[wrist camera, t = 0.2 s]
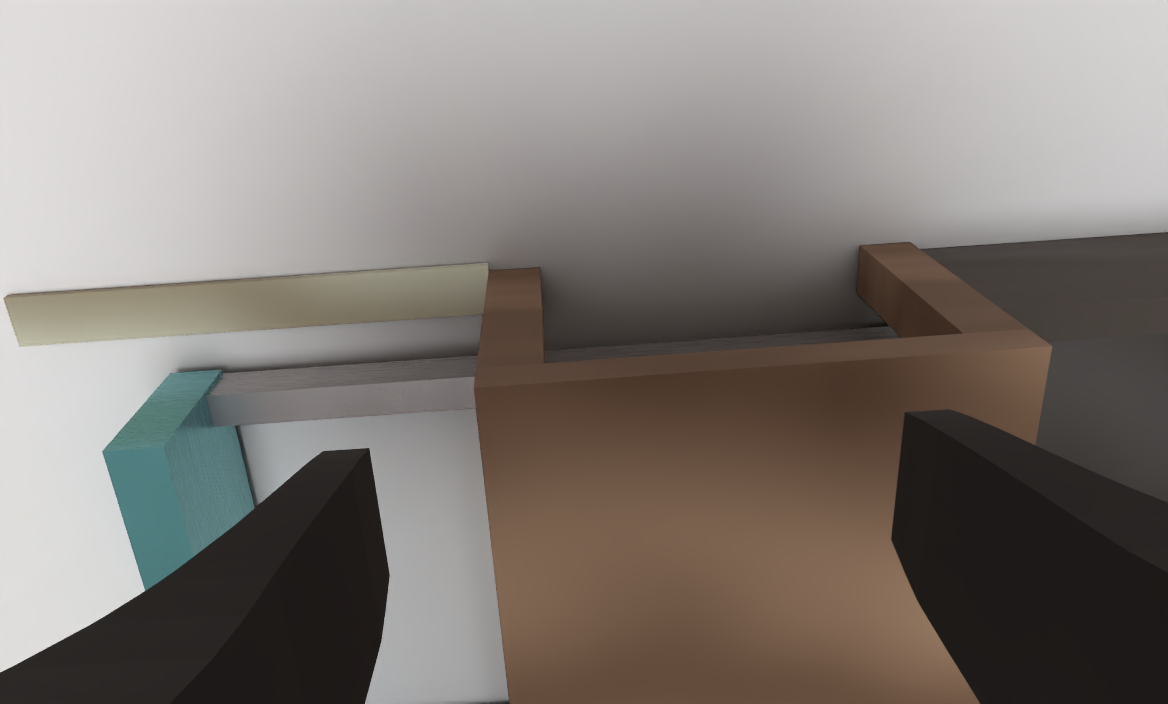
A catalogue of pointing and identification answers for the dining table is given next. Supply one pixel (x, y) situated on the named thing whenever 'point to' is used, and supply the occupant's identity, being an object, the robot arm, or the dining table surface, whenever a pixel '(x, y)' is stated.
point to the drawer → (223, 400)
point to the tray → (735, 455)
